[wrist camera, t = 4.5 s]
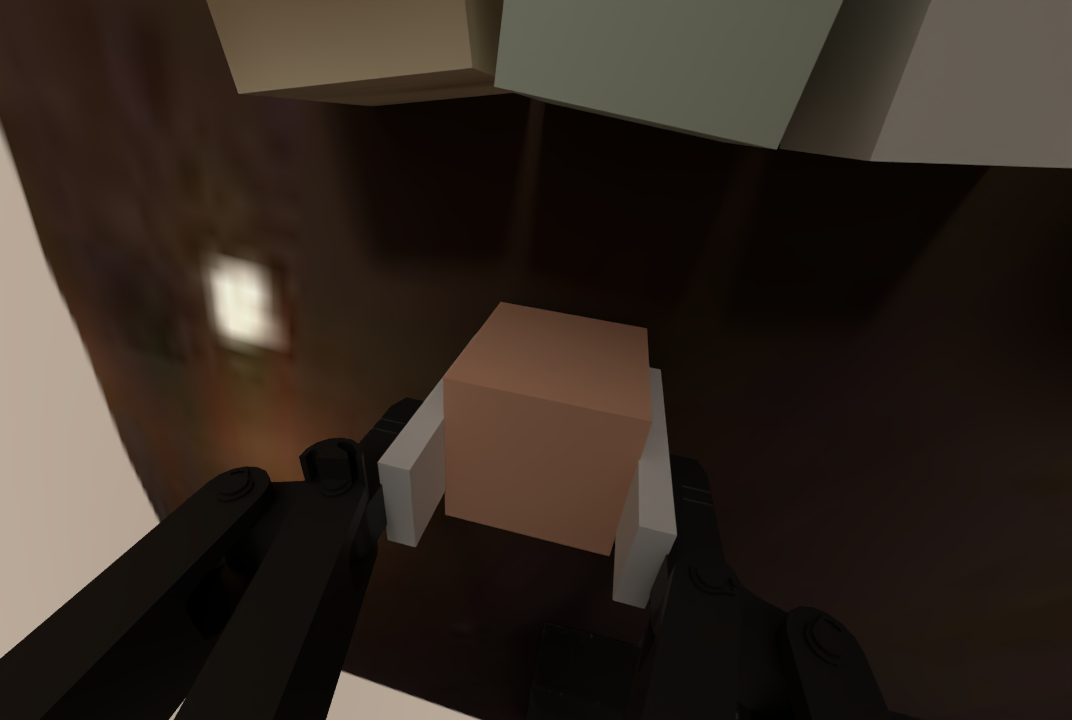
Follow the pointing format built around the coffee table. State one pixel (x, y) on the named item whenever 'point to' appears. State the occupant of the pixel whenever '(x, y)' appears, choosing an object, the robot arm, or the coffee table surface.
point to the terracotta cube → (547, 425)
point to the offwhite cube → (942, 84)
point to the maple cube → (361, 48)
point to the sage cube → (668, 61)
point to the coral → (587, 677)
